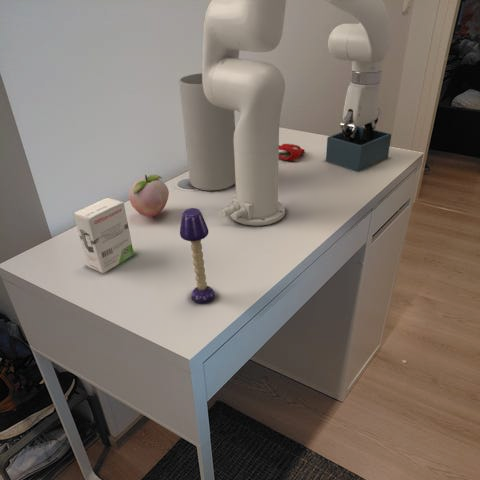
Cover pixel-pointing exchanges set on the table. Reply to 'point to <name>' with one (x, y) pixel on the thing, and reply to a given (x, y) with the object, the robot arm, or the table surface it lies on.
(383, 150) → the teal open box
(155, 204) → the decorative fruit
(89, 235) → the ink box
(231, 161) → the cylinder vase
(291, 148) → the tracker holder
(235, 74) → the robot arm
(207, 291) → the toy lamp
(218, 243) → the table surface
